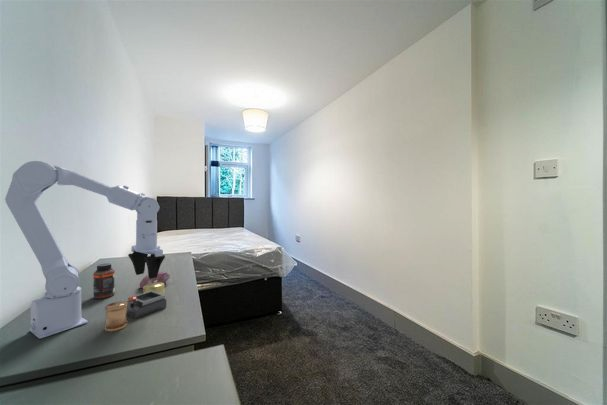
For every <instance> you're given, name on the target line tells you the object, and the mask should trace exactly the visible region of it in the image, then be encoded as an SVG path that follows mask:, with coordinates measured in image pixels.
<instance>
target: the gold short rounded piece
mask: <svg viewBox="0 0 607 405" xmlns="http://www.w3.org/2000/svg"><path fill="white" fill-rule="evenodd" d="M142 290H143V293H146V292H150V291H154V292H157V293H160V294H163V295H165V282H164V283H162V282H157V281H156V282H155V281H154V283H150V284H147V285H145V286H144V287H143V288H142ZM143 293H142V294H143Z"/></svg>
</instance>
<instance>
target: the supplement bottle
mask: <svg viewBox="0 0 607 405" xmlns="http://www.w3.org/2000/svg"><path fill="white" fill-rule="evenodd" d="M92 275H93V278H92V279H93V286H92V287H93V288H92V289H93V298H94V299H98V300H99V299H101V300H103V299H106V298H110V297H112V296H113V295H115V293H116V280H115V278H116V270H115V269H114V268H112V263H110V262H106V263H100V264H97V265H96V270H95V271H94V273H93V274H92Z"/></svg>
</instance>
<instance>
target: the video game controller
mask: <svg viewBox="0 0 607 405" xmlns="http://www.w3.org/2000/svg"><path fill="white" fill-rule="evenodd" d="M170 277H171V275H170V274H169V273H168V272H166V271H165V270H164V271H158V275H157V277H156V278H152V279H149V276H148V274H146V275H145V276H144V277H143V278H142V279H141V281H140V282H139V288H140V289H143V287H144V286H145V285H147V284H150V283H155V281H156V282H162V283H164V284H165V283H166V282H168V280H169V279H170Z"/></svg>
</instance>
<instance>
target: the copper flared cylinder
mask: <svg viewBox="0 0 607 405" xmlns="http://www.w3.org/2000/svg"><path fill="white" fill-rule="evenodd" d="M127 306H128V302H126V301H123V300H120V301H114V302H111V303H109V304H107V305H105V307H104V311H105V326H104V331H105V332H107V333H114V332H117V331H122V330H123V329H125V328H127V327H128V325H129V324H128V317H127V316H128V315H127Z"/></svg>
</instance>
